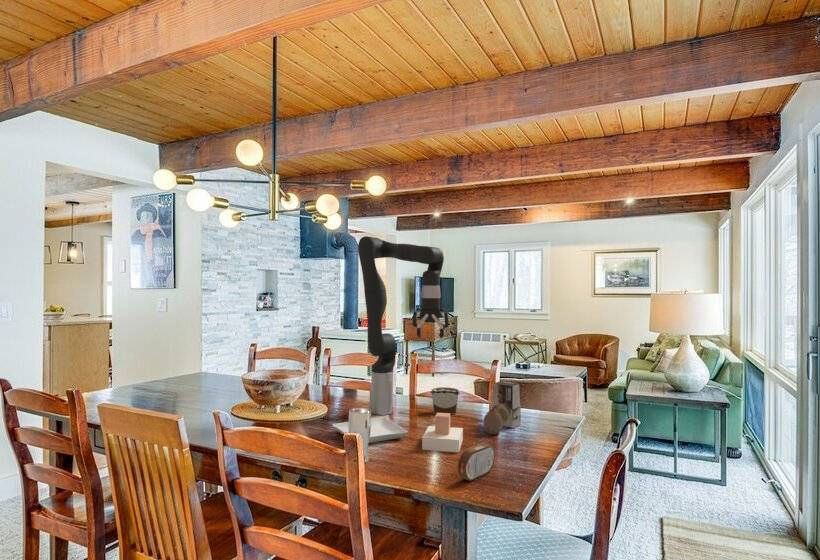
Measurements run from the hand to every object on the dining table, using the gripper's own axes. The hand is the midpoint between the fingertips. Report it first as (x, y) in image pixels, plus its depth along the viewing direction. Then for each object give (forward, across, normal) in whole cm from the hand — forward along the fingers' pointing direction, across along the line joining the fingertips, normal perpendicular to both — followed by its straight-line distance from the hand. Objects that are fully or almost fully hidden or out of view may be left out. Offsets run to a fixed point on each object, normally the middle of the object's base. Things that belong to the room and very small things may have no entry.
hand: (430, 338), depth 195 cm
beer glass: (+33, -14, -48) cm, 60 cm away
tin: (+33, +22, -53) cm, 66 cm away
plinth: (+33, +9, -27) cm, 44 cm away
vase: (+33, +25, -9) cm, 43 cm away
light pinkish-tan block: (+29, +9, -27) cm, 41 cm away
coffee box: (+33, +30, +4) cm, 45 cm away
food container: (+33, +4, +18) cm, 38 cm away
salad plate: (+34, -18, -23) cm, 45 cm away
